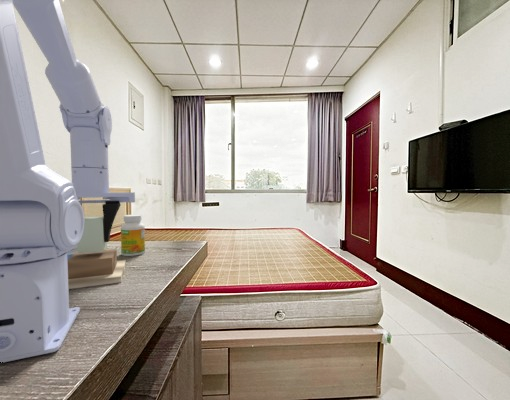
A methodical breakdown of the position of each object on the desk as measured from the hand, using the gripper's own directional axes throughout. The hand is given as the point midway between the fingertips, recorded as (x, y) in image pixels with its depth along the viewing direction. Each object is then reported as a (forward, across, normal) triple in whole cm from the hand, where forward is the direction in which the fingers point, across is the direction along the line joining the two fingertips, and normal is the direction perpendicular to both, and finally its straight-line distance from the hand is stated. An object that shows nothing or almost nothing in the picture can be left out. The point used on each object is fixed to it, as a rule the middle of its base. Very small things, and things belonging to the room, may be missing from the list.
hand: (92, 242), depth 47 cm
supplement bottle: (+7, -6, -15) cm, 17 cm away
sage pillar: (+1, 0, 0) cm, 1 cm away
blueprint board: (+6, 0, 0) cm, 6 cm away
